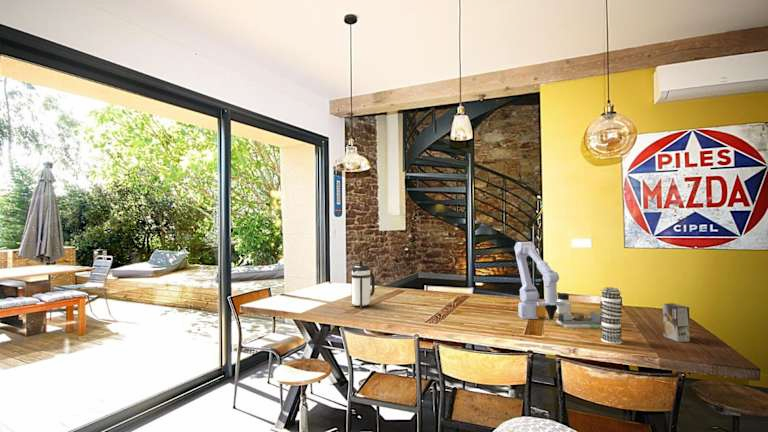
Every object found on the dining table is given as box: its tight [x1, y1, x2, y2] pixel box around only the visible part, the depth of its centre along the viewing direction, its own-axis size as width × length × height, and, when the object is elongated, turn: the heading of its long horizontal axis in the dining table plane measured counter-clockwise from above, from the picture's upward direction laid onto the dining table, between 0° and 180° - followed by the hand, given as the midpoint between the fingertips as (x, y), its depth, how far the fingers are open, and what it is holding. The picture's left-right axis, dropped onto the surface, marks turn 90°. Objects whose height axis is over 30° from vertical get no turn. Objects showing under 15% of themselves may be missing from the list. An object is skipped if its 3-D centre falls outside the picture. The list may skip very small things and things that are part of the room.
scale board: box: [555, 310, 602, 329], centre depth 210 cm, size 20×12×6 cm, turn 89°
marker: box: [573, 313, 585, 321], centre depth 210 cm, size 3×5×4 cm, turn 179°
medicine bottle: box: [555, 292, 572, 315], centre depth 235 cm, size 7×7×12 cm
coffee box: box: [662, 302, 691, 343], centre depth 185 cm, size 9×6×16 cm
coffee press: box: [350, 260, 376, 310], centre depth 256 cm, size 17×16×30 cm
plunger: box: [558, 313, 576, 322], centre depth 210 cm, size 8×5×4 cm, turn 89°
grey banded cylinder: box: [599, 286, 623, 345], centre depth 182 cm, size 9×9×25 cm
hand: (550, 319), depth 210 cm, fingers closed
